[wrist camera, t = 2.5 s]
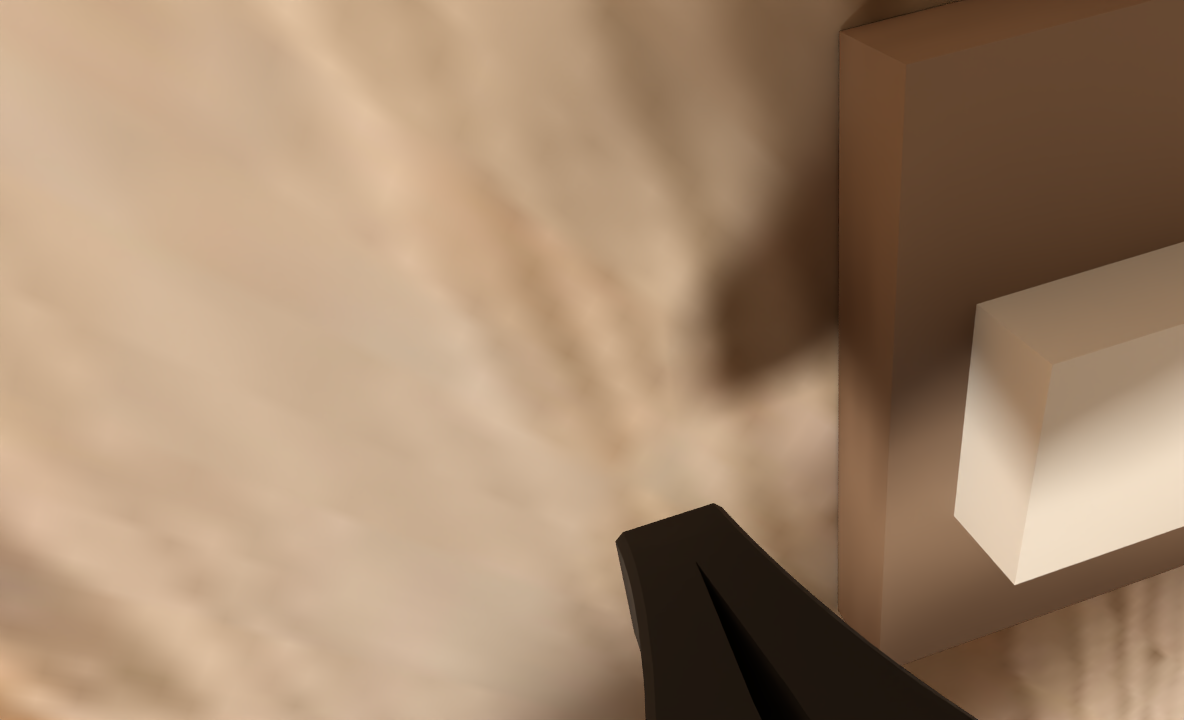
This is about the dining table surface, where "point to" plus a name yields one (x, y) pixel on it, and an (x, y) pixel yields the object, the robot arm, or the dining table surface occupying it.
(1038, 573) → the offwhite tile
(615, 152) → the dining table surface
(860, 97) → the walnut board
